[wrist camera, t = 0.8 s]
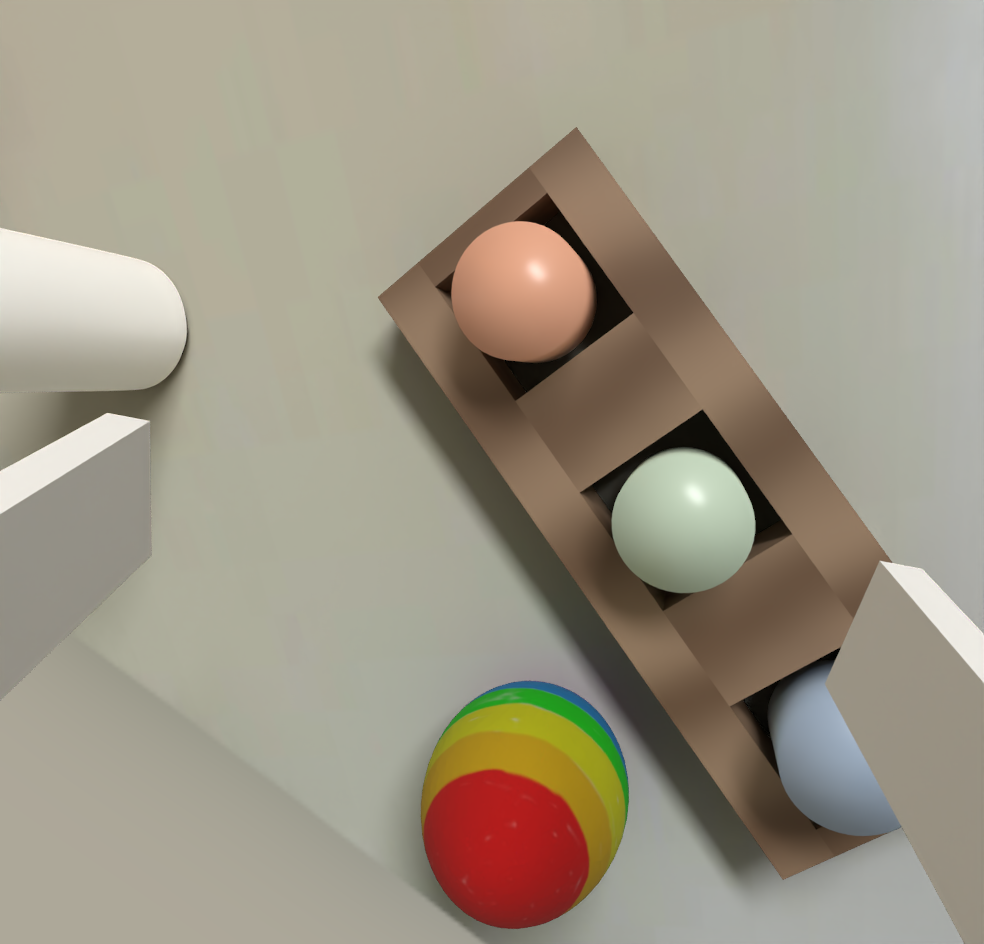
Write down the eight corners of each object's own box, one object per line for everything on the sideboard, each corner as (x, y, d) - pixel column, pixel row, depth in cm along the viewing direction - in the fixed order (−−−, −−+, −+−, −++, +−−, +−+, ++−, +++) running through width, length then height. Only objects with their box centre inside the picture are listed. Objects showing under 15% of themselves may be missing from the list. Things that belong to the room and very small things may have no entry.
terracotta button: (621, 313, 28) (611, 304, 25) (524, 386, 30) (501, 387, 26) (550, 215, 28) (530, 191, 25) (457, 292, 30) (426, 280, 26)
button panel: (1003, 725, 28) (1039, 765, 25) (774, 833, 31) (782, 879, 28) (587, 151, 30) (576, 127, 27) (405, 304, 32) (377, 297, 29)
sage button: (772, 524, 28) (784, 545, 24) (666, 589, 29) (663, 618, 25) (699, 422, 28) (700, 428, 24) (597, 490, 29) (584, 506, 26)
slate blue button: (929, 743, 27) (965, 798, 24) (814, 798, 28) (831, 858, 25) (853, 637, 27) (877, 675, 24) (742, 697, 29) (749, 741, 25)
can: (197, 389, 36) (-37, 393, 24) (90, 391, 37) (-176, 395, 26) (188, 255, 35) (-58, 193, 23) (79, 263, 37) (-199, 209, 25)
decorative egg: (480, 635, 33) (396, 737, 24) (655, 692, 32) (641, 827, 22) (444, 790, 35) (352, 945, 25) (610, 853, 33) (577, 1046, 23)
